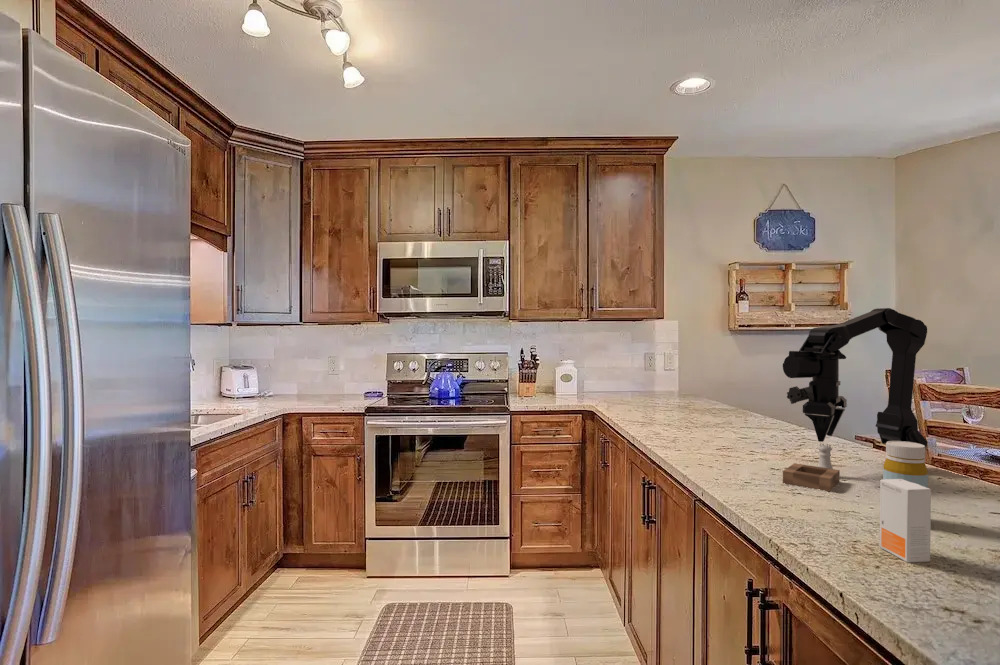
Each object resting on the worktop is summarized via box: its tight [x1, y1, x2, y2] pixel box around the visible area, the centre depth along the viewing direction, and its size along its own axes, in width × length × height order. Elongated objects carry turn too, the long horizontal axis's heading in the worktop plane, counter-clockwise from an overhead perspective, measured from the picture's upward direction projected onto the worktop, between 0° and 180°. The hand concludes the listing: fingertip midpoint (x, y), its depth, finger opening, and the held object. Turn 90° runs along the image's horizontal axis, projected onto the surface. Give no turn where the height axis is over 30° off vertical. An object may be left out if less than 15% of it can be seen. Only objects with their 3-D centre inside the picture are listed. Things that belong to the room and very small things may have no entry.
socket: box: [782, 462, 841, 492], centre depth 132 cm, size 10×10×3 cm
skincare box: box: [878, 478, 932, 564], centre depth 91 cm, size 6×4×12 cm
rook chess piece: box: [816, 443, 834, 469], centre depth 138 cm, size 4×4×8 cm
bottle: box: [882, 441, 929, 488], centre depth 107 cm, size 7×7×15 cm
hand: (825, 438), depth 138 cm, fingers open, 9 cm apart
